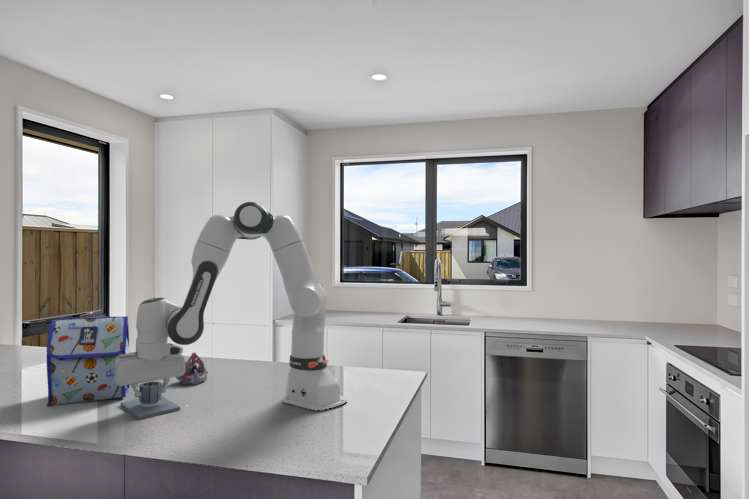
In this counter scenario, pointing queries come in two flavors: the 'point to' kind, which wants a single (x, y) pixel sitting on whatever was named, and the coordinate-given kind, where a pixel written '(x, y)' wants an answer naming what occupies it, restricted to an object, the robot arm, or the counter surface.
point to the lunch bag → (85, 358)
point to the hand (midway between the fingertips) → (150, 394)
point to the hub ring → (150, 392)
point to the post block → (149, 408)
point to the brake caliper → (193, 371)
